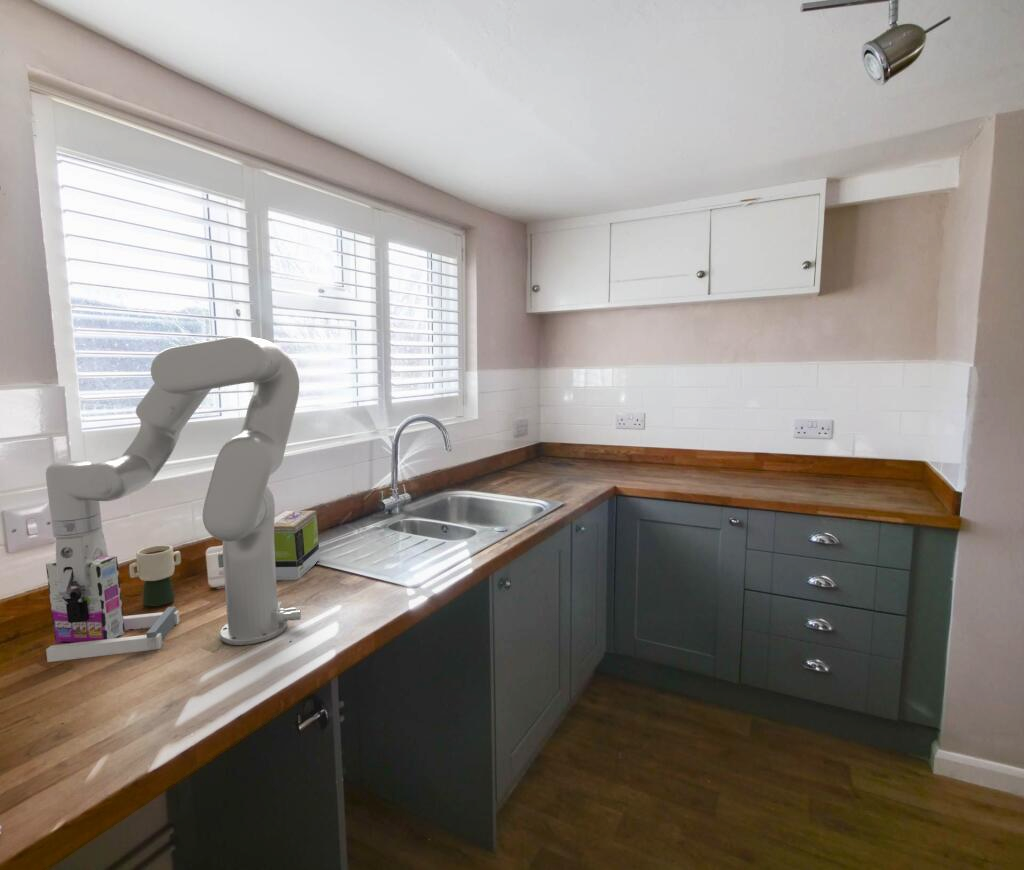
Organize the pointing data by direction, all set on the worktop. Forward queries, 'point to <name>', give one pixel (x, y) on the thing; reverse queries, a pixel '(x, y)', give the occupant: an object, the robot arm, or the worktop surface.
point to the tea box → (295, 543)
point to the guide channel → (152, 640)
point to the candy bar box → (90, 604)
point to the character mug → (156, 573)
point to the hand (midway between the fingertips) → (87, 612)
